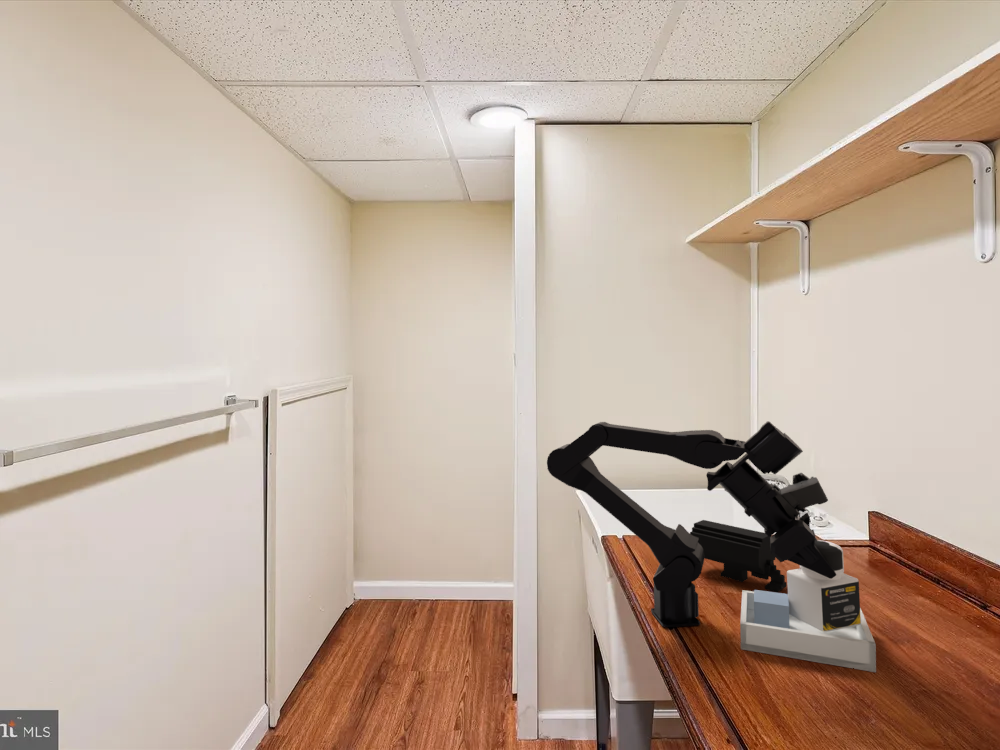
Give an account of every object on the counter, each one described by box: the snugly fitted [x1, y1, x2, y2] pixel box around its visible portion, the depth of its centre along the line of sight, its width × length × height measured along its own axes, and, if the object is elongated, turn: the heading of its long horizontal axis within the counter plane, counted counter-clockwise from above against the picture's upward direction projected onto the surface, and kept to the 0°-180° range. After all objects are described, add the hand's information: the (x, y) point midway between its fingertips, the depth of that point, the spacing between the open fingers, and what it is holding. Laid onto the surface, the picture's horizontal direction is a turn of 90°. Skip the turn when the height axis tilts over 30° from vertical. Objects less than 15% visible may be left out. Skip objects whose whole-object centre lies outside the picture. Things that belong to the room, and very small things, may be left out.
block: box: [753, 589, 790, 629], centre depth 91 cm, size 5×5×5 cm
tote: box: [739, 589, 877, 673], centre depth 89 cm, size 18×14×4 cm
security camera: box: [689, 519, 788, 593], centre depth 114 cm, size 7×18×10 cm, turn 40°
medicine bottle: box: [786, 539, 861, 632], centre depth 88 cm, size 7×7×12 cm
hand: (831, 569), depth 87 cm, fingers closed on medicine bottle, 6 cm apart
